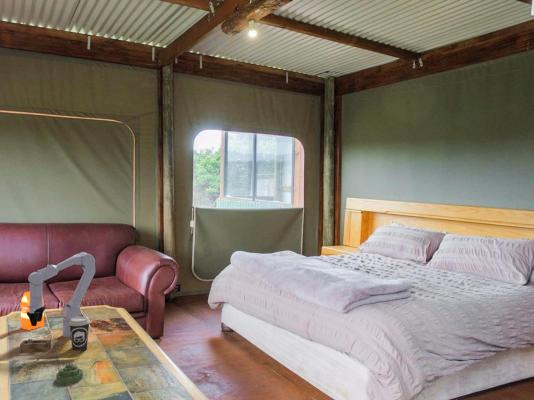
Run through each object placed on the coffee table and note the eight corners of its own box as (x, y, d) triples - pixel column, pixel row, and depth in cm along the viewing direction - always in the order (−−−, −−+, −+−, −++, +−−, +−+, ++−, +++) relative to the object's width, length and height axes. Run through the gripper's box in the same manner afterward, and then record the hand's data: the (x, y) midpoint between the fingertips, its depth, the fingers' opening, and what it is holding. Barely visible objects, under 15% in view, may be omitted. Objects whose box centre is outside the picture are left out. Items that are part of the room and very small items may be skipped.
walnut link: (51, 347, 226) (51, 339, 226) (47, 351, 221) (47, 343, 220) (24, 348, 224) (24, 340, 224) (20, 353, 219) (20, 344, 218)
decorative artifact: (56, 376, 196) (56, 386, 186) (56, 359, 195) (56, 368, 186) (82, 372, 200) (83, 382, 190) (82, 356, 199) (83, 365, 190)
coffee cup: (94, 347, 229) (94, 317, 228) (79, 354, 220) (78, 322, 219) (80, 344, 233) (79, 314, 232) (64, 351, 224) (64, 320, 224)
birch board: (58, 341, 237) (58, 339, 237) (46, 356, 217) (46, 354, 217) (31, 343, 235) (31, 341, 235) (16, 357, 215) (16, 355, 215)
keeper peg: (32, 349, 223) (32, 338, 223) (31, 351, 221) (31, 339, 221) (28, 350, 223) (28, 338, 222) (27, 351, 221) (27, 339, 221)
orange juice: (44, 325, 263) (43, 290, 262) (28, 330, 256) (28, 293, 255) (36, 323, 267) (35, 288, 266) (20, 327, 260) (20, 291, 259)
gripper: (32, 293, 240) (32, 319, 241) (22, 300, 226) (22, 328, 226) (47, 293, 241) (47, 319, 242) (38, 300, 227) (38, 327, 228)
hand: (36, 323), depth 234 cm, fingers open, 7 cm apart
